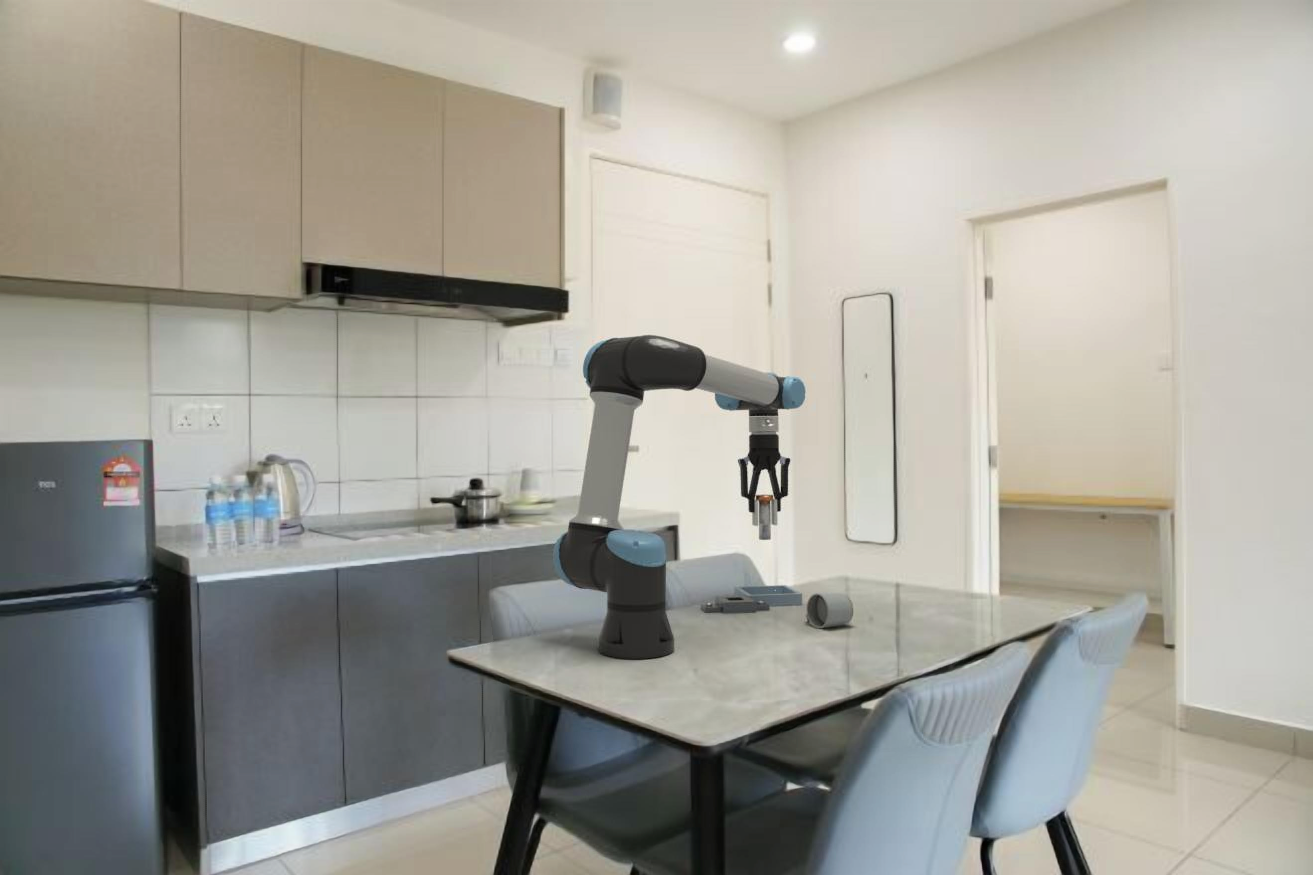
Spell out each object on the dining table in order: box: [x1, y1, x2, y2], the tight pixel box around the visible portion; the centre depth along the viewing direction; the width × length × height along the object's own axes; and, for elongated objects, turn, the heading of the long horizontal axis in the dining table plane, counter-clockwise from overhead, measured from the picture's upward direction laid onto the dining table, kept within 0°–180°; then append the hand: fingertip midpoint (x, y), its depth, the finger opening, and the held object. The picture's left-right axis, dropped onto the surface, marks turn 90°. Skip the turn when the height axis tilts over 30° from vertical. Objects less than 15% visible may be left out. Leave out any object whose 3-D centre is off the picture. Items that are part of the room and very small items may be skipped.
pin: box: [755, 494, 774, 541], centre depth 231 cm, size 4×4×11 cm
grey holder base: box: [700, 595, 771, 614], centre depth 221 cm, size 16×8×3 cm, turn 100°
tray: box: [733, 584, 803, 607], centre depth 232 cm, size 14×13×3 cm
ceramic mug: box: [805, 592, 854, 629], centre depth 204 cm, size 11×8×8 cm
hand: (764, 524), depth 231 cm, fingers closed on pin, 4 cm apart
